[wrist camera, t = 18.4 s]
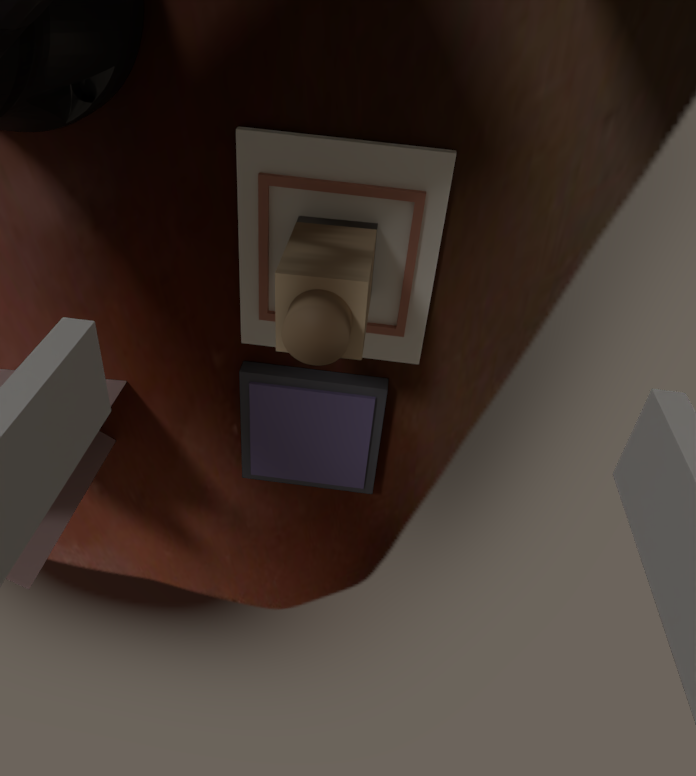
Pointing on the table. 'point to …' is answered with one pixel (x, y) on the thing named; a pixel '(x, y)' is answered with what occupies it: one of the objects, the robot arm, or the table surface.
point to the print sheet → (343, 202)
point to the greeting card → (62, 499)
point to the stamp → (325, 289)
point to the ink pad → (310, 426)
